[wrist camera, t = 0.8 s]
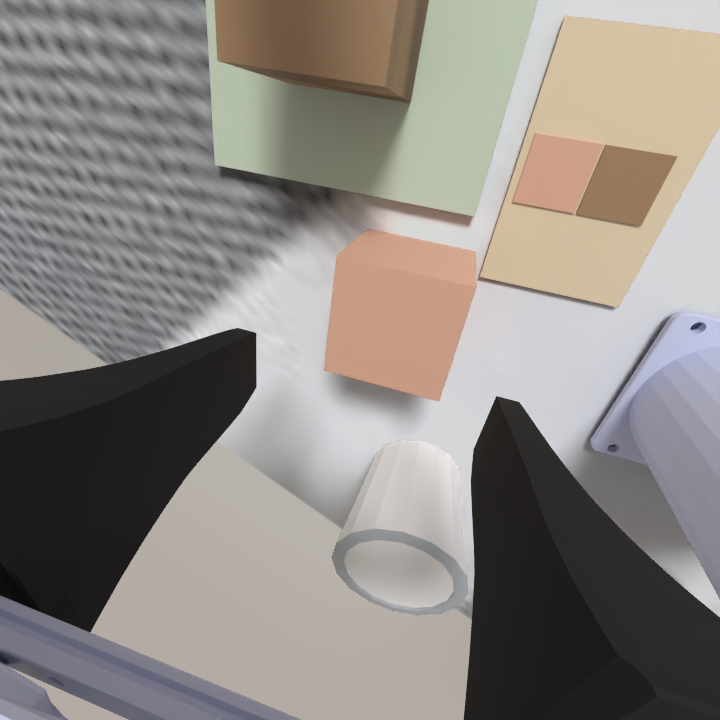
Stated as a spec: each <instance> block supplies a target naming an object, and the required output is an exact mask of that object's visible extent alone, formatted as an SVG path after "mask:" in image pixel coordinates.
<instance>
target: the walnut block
mask: <svg viewBox="0 0 720 720" xmlns="http://www.w3.org/2000/svg"><path fill="white" fill-rule="evenodd" d="M214 3H215V24H216V45H217V61H220V62H223V63H226V64H229V65H232V66H235V67H239V68H242V69H245V70H248V71H251V72H254V73H258V74H261V75H264V76H267V77H270V78H273V79H277V80H280V81H283V82H286V83H290V84H296V85H303V86H309V87H315V88H321V89H327V90H334V91H340V92H346V93H352V94H359V95H365V96H371V97H377V98H384V99H390V100H396V101H402V102H409V103H411V98H412V93H413V87H414V82H415V76H416V70H417V65H418V59H419V54H420V48H421V43H422V37H423V31H424V26H425V20H426V15H427V9H428V3H429V0H214Z"/></svg>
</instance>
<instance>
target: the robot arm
mask: <svg viewBox="0 0 720 720" xmlns="http://www.w3.org/2000/svg"><path fill="white" fill-rule="evenodd" d="M698 322H702V323H701V326H700V327H698V328H697V329H694V330H690V329H691V326H692V325H693V324H695V323H698ZM255 389H256V333H254V332H251V331H247V330H243V329H239V328H236V329H231V330H228V331H224V332H221V333H217V334H214V335H211V336H208V337H205V338H202V339H199V340H196V341H193V342H190V343H186V344H183V345H180V346H177V347H174V348H171V349H167V350H164V351H160V352H157V353H153V354H150V355H146V356H143V357H139V358H136V359H132V360H128V361H124V362H120V363H116V364H111V365H106V366H101V367H96V368H92V369H86V370H80V371H74V372H67V373H61V374H54V375H48V376H41V377H33V378H24V379H15V380H5V381H0V720H68V719H67V718H65V717H64V716H63V715H62V714H61V713H60V712H59V710H58V709H57V708H56V707H55V706H54V705H53V704H52V703H51V701H50V699H49V697H48V695H47V692H46V690H45V689H44V688H42V687H41V686H39V685H37V684H36V683H34V682H32V681H31V680H29V679H27V678H26V677H24V676H22V675H21V674H19V673H17V672H16V671H14V670H12V669H11V668H14V669H16V670H18V671H20V672H22V673H25V674H27V675H29V676H32V677H34V678H36V679H38V680H40V681H43V682H45V683H47V684H49V685H52V686H54V687H56V688H59V689H61V690H63V691H65V692H68V693H70V694H72V695H74V696H77V697H79V698H81V699H84V700H86V701H88V702H90V703H93V704H95V705H97V706H100V707H101V708H104V709H106V710H108V711H111V712H113V713H115V714H118V715H120V716H122V717H124V718H127V719H129V720H301V719H299V718H296V717H294V716H291V715H289V714H287V713H284V712H282V711H279V710H277V709H274V708H272V707H270V706H267V705H264V704H262V703H260V702H257V701H255V700H253V699H250V698H248V697H245V696H243V695H240V694H238V693H235V692H233V691H231V690H228V689H226V688H223V687H221V686H218V685H216V684H214V683H211V682H209V681H206V680H204V679H201V678H199V677H197V676H194V675H192V674H189V673H187V672H184V671H182V670H180V669H177V668H175V667H172V666H170V665H168V664H165V663H163V662H160V661H158V660H155V659H153V658H150V657H148V656H146V655H143V654H141V653H138V652H136V651H133V650H131V649H128V648H126V647H124V646H121V645H119V644H117V643H114V642H112V641H109V640H107V639H104V638H102V637H100V636H97V635H95V634H92V633H90V632H91V630H92V628H93V627H94V624H95V623H96V621H97V619H98V617H99V616H100V614H101V612H102V610H103V608H104V607H105V605H106V603H107V601H108V600H109V598H110V596H111V594H112V593H113V591H114V589H115V587H116V585H117V584H118V582H119V580H120V578H121V577H122V575H123V574H124V572H125V570H126V569H127V567H128V565H129V564H130V562H131V560H132V559H133V557H134V555H135V554H136V552H137V551H138V549H139V547H140V546H141V544H142V542H143V541H144V539H145V537H146V536H147V534H148V533H149V531H150V530H151V528H152V527H153V525H154V524H155V522H156V521H157V519H158V517H159V516H160V514H161V513H162V511H163V510H164V508H165V507H166V505H167V504H168V502H169V501H170V500H171V498H172V497H173V495H174V494H175V492H176V491H177V489H178V488H179V487H180V485H181V484H182V482H183V480H184V479H185V478H186V476H188V474H189V473H190V471H191V470H192V469H193V468H194V467H195V465H196V464H197V463H198V462H199V461H200V460H201V458H202V457H203V456H204V455H205V454H206V453H207V451H208V450H209V449H210V448H211V447H212V446H213V444H214V443H215V442H216V441H217V440H218V439H219V437H220V436H221V435H222V434H223V433H224V432H225V430H226V429H227V428H228V427H229V426H230V425H231V423H232V422H233V421H234V420H235V419H236V417H237V416H238V415H239V414H240V412H241V411H242V409H243V408H244V406H245V405H246V403H247V402H248V400H249V399H250V397H251V395H252V394H253V392H254V390H255ZM590 443H591V446H592V448H593V449H594V450H595V451H597V452H600V453H604V454H608V455H611V456H615V457H619V458H622V459H626V460H630V461H633V462H637V463H640V464H644V465H648V467H649V469H650V471H651V473H652V474H653V476H654V478H655V480H656V482H657V484H658V486H659V487H660V489H661V491H662V493H663V495H664V497H665V499H666V500H667V502H668V504H669V506H670V508H671V510H672V511H673V513H674V515H675V517H676V519H677V521H678V523H679V524H680V526H681V528H682V530H683V532H684V534H685V536H686V537H687V539H688V541H689V543H690V545H691V547H692V549H693V550H694V552H695V554H696V556H697V558H698V560H699V562H700V563H701V565H702V567H703V569H704V571H705V573H706V575H707V576H708V578H709V580H710V582H711V584H712V586H713V587H714V589H715V591H716V593H717V595H718V597H719V599H720V318H718V317H713V316H709V315H704V314H700V313H695V312H690V311H680V312H677V313H675V314H673V315H672V316H671V317H670V318H669V319H668V321H667V322H666V324H665V325H664V327H663V328H662V330H661V331H660V333H659V335H658V336H657V338H656V339H655V341H654V342H653V344H652V345H651V347H650V348H649V350H648V352H647V353H646V355H645V356H644V358H643V359H642V361H641V362H640V364H639V365H638V367H637V368H636V370H635V372H634V373H633V375H632V376H631V378H630V379H629V381H628V382H627V384H626V385H625V387H624V388H623V390H622V392H621V393H620V395H619V396H618V398H617V399H616V401H615V402H614V404H613V405H612V407H611V409H610V410H609V412H608V413H607V415H606V416H605V418H604V419H603V421H602V422H601V424H600V425H599V427H598V429H597V430H596V432H595V433H594V435H593V436H592V438H591V440H590ZM610 445H615V446H614V447H608V446H610ZM471 496H472V518H473V538H474V567H475V576H474V595H473V613H472V627H471V642H470V656H469V669H468V680H467V690H466V701H465V712H464V720H720V617H718V616H717V615H716V614H715V613H714V612H712V611H711V610H710V609H709V608H708V607H706V606H705V605H704V604H703V603H701V602H700V601H699V600H698V599H697V598H695V597H694V596H693V595H692V594H691V593H689V592H688V591H687V590H686V589H685V588H684V587H682V586H681V585H680V584H679V583H678V582H677V581H676V580H674V579H673V578H672V577H671V576H670V575H669V574H668V573H666V572H665V571H664V570H663V569H662V568H661V567H660V566H659V565H658V564H657V563H656V562H655V561H653V560H652V559H651V558H650V557H649V556H648V555H647V554H646V553H645V552H644V551H643V550H642V549H641V548H639V547H638V546H637V545H636V544H635V543H634V542H633V541H632V540H631V539H630V538H629V537H628V536H627V535H626V534H625V533H624V532H623V531H622V530H621V529H620V528H619V527H618V526H617V525H616V524H615V523H614V522H613V521H612V520H611V518H610V517H609V516H608V515H607V514H606V513H605V512H604V511H603V510H602V509H601V508H600V507H599V506H598V505H597V504H596V502H595V501H594V500H593V499H592V498H591V497H590V496H589V495H588V493H587V492H586V491H585V490H584V489H583V487H582V486H581V485H580V484H579V483H578V481H577V480H576V479H575V478H574V477H573V475H572V474H571V473H570V472H569V470H568V469H567V468H566V467H565V465H564V464H563V463H562V461H561V460H560V459H559V457H558V456H557V455H556V453H555V452H554V451H553V449H552V448H551V447H550V445H549V444H548V442H547V441H546V440H545V438H544V437H543V435H542V434H541V433H540V431H539V430H538V428H537V427H536V425H535V424H534V422H533V421H532V420H531V418H530V417H529V415H528V414H527V412H526V411H525V409H524V408H523V407H522V405H521V404H520V403H519V402H517V401H513V400H509V399H505V398H501V397H498V396H496V399H495V401H494V403H493V406H492V408H491V410H490V413H489V415H488V417H487V420H486V422H485V424H484V427H483V429H482V431H481V434H480V436H479V438H478V441H477V443H476V445H475V448H474V452H473V462H472V474H471ZM8 666H9V667H11V668H9V667H8Z"/></svg>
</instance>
